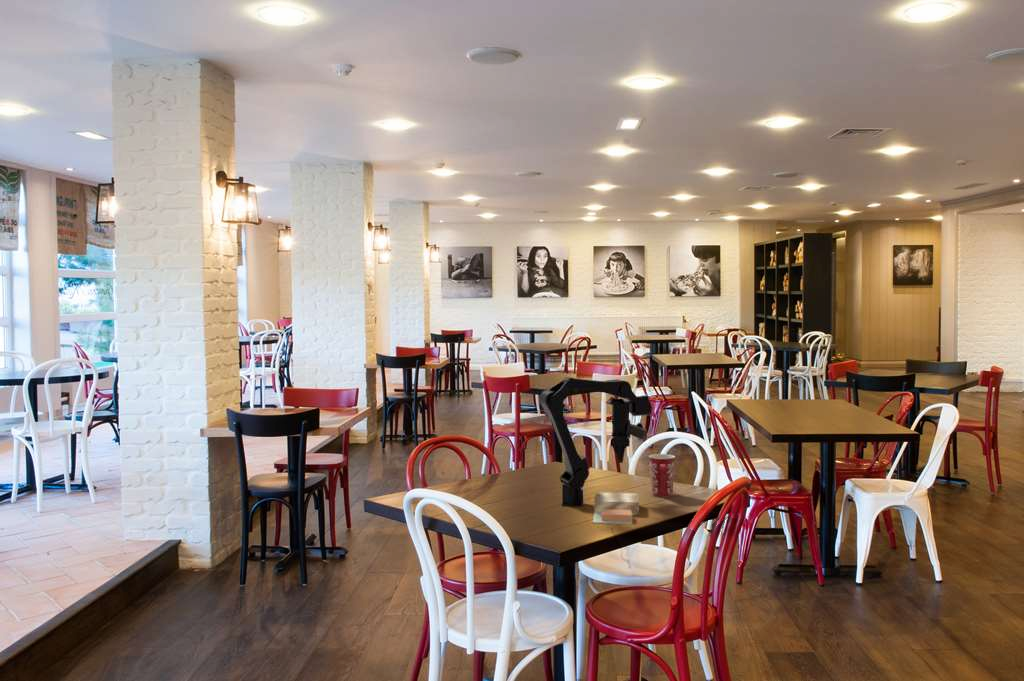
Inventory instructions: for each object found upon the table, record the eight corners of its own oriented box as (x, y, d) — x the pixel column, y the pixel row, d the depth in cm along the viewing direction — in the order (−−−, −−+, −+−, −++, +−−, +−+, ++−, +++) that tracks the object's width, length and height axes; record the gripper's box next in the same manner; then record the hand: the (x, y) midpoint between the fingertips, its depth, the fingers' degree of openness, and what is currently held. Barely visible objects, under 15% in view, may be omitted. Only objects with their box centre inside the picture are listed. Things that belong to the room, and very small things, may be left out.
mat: (592, 523, 256) (592, 522, 256) (594, 513, 267) (594, 512, 267) (632, 524, 255) (632, 523, 255) (632, 514, 265) (632, 513, 265)
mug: (648, 491, 297) (648, 453, 296) (674, 491, 295) (674, 453, 294) (648, 500, 284) (648, 460, 283) (676, 500, 283) (676, 461, 282)
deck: (594, 513, 267) (594, 501, 267) (596, 504, 279) (596, 492, 279) (638, 514, 265) (638, 502, 265) (638, 505, 277) (638, 493, 277)
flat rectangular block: (602, 509, 263) (602, 515, 264) (601, 514, 257) (601, 520, 258) (631, 510, 262) (631, 516, 262) (631, 515, 256) (631, 521, 256)
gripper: (644, 421, 273) (644, 468, 274) (644, 413, 292) (645, 457, 293) (610, 421, 275) (610, 468, 276) (612, 412, 294) (613, 457, 294)
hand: (621, 462), depth 285 cm, fingers closed
